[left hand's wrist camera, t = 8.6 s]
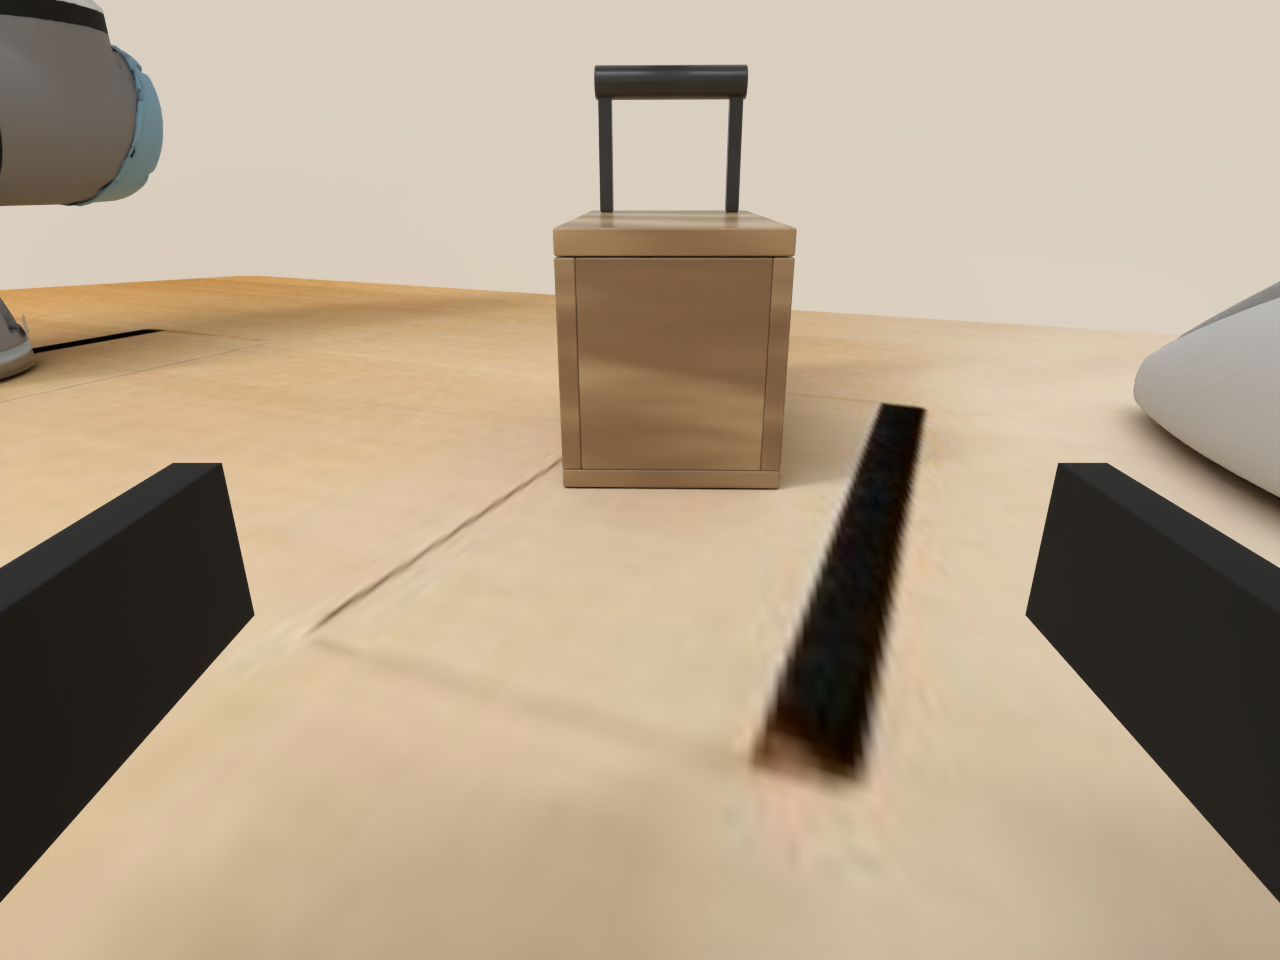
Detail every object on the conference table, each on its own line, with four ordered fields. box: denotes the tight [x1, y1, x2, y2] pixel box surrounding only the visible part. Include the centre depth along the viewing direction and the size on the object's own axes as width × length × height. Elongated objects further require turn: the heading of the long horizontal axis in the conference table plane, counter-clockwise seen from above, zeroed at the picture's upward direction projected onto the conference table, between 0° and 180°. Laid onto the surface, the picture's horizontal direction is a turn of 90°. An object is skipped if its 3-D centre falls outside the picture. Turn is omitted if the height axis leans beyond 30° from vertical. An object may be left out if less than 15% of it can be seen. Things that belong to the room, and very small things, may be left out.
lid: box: [553, 65, 796, 256], centre depth 36 cm, size 17×9×8 cm, turn 179°
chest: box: [554, 256, 795, 488], centre depth 39 cm, size 17×9×10 cm, turn 179°
